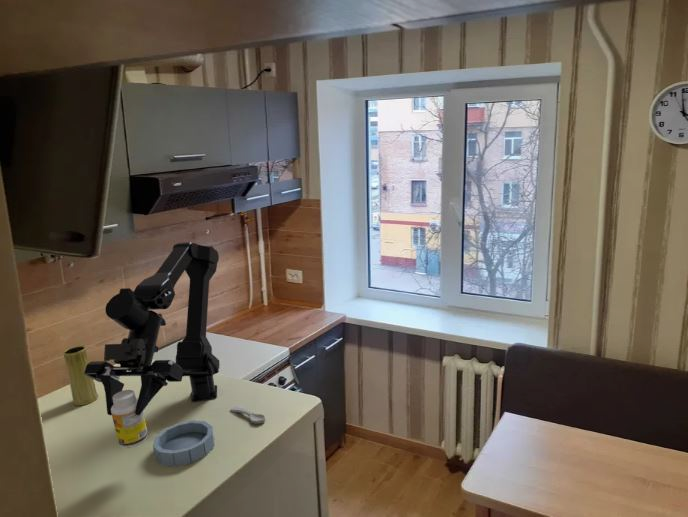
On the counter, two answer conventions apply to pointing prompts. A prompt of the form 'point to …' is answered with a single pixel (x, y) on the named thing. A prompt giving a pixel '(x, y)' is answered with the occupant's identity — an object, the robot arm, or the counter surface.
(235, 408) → the spoon
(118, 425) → the supplement bottle
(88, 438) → the counter surface
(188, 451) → the bowl
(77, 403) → the vase
